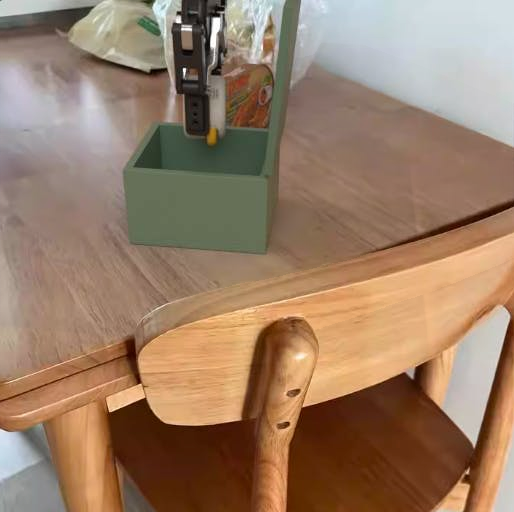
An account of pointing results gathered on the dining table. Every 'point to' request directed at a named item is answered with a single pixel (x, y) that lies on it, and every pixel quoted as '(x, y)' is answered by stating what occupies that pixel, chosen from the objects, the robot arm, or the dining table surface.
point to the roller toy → (213, 110)
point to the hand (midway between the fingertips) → (204, 120)
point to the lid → (282, 81)
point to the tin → (249, 95)
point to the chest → (201, 190)
